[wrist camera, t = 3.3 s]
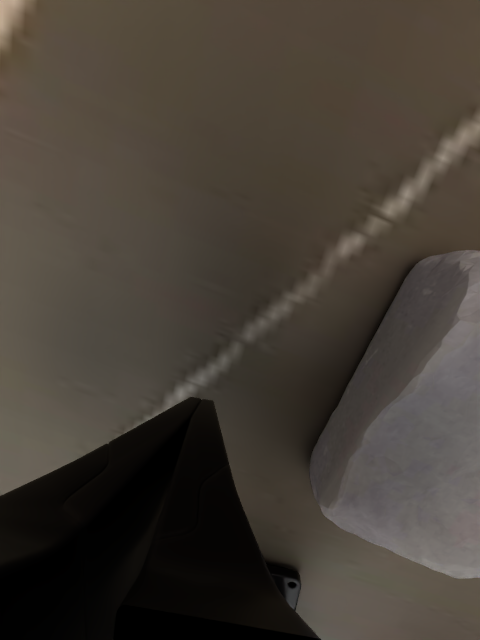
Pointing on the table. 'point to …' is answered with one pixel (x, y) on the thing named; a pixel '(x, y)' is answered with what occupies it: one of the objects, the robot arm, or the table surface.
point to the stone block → (413, 425)
